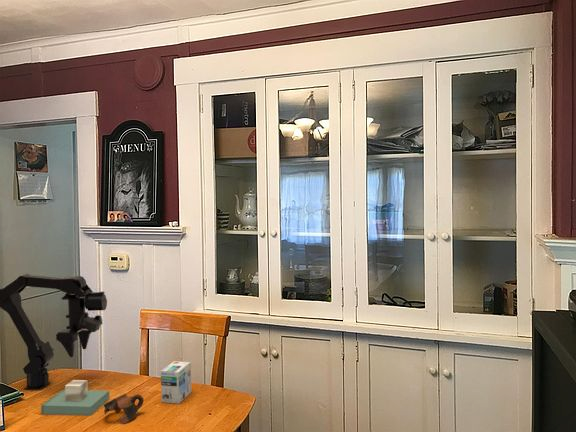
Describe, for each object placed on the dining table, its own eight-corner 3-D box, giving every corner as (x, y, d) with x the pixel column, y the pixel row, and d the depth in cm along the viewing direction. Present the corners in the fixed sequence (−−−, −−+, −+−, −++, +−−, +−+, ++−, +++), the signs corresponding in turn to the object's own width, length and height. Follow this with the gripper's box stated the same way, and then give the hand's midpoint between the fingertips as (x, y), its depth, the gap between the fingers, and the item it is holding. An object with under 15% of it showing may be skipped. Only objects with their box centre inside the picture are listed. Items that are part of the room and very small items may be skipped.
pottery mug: (113, 430, 147) (102, 404, 148) (109, 432, 154) (98, 407, 156) (151, 409, 154) (140, 384, 155) (144, 412, 161) (134, 389, 163)
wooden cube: (80, 401, 160) (79, 386, 160) (65, 400, 161) (65, 385, 161) (87, 395, 165) (87, 380, 165) (73, 394, 166) (73, 380, 166)
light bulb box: (179, 404, 163) (178, 372, 163) (160, 402, 165) (159, 371, 164) (192, 391, 174) (191, 361, 173) (174, 390, 175) (173, 360, 175)
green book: (41, 415, 157) (41, 405, 157) (63, 398, 170) (63, 389, 170) (90, 416, 156) (90, 406, 156) (109, 399, 169) (109, 390, 169)
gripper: (85, 317, 171) (86, 361, 171) (109, 305, 189) (110, 345, 190) (54, 317, 172) (56, 361, 172) (81, 305, 190) (83, 345, 191)
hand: (78, 352), depth 181 cm, fingers open, 9 cm apart
